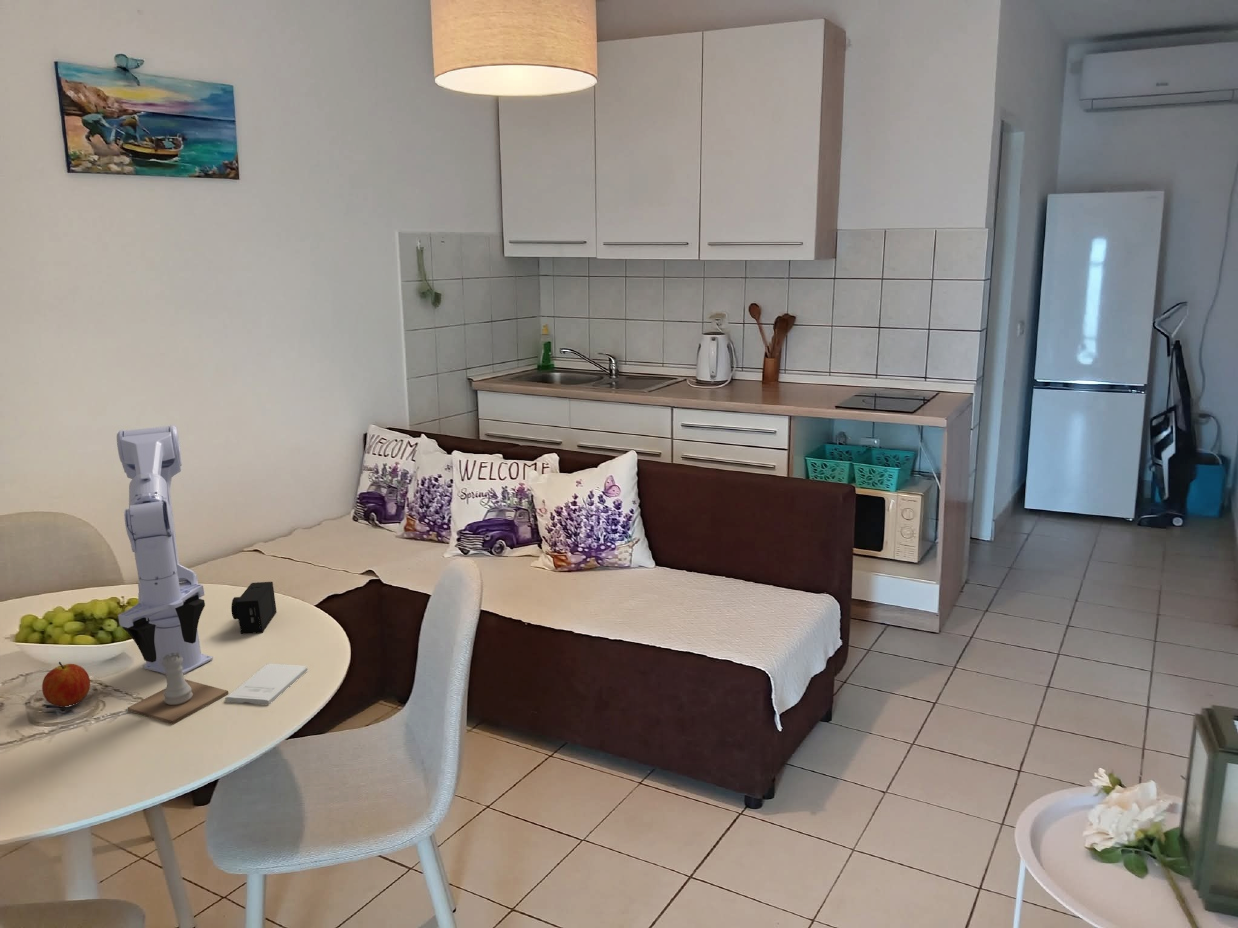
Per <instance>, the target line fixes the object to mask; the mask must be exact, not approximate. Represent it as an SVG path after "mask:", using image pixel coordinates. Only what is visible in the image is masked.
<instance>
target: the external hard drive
mask: <svg viewBox="0 0 1238 928" xmlns="http://www.w3.org/2000/svg"><path fill="white" fill-rule="evenodd" d="M307 670H308V667H307V666H306V665H297V664H284V663H283V664H282V663H266V664H265V665H264V666H262V667H261V668H260V669H258V671H256V672H255V673H254V674H253V675H251V676H250V677H249V678H247V679H246V680H245V681H244V682H243V683H241V684H240V685H238V687H236V688H235V689H233V691H232V692H231V693H228V695H226V696H225V698H224V699H225V703H239V704H244V703H247V704H251V705H252V704H253V705H261V704H264V706H269V705H268V704H270V705H271V704H272V703H273V702H275V701H276V700H277V699H278V698H279V697H280V696H281V695H282V694H284V693H283V692H284V691H285V690H286V689H287V688H288V687H289V688H291V686H290V685H292V684H293V683H294V682H295V681H296V680H297V679H298V680H299V678H300V677H301V676H302V675H303V674H304V673H305V672H306V671H307ZM306 673H307V672H306ZM306 673H305V674H306ZM305 674H304V675H305ZM304 675H303V676H304ZM303 676H302V677H303ZM302 677H301V678H302ZM301 678H300V679H301ZM298 680H297V681H298ZM297 681H296V682H297ZM296 682H295V683H296ZM295 683H294V684H295ZM294 684H293V685H294ZM293 685H292V686H293ZM289 688H288V689H289ZM288 689H287V690H288ZM287 690H286V691H287ZM286 691H285V692H286ZM281 693H282V694H281ZM280 694H281V695H280ZM279 695H280V696H279ZM278 696H279V697H278ZM277 697H278V698H277ZM276 698H277V699H276ZM275 699H276V700H275ZM271 702H272V703H271ZM265 704H267V705H265Z"/></svg>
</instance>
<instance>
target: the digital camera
mask: <svg viewBox="0 0 1238 928" xmlns="http://www.w3.org/2000/svg"><path fill="white" fill-rule="evenodd" d="M273 582H274V581H262V582H261V581H260V582H258V581H257V582H250V584H249V586H248V587H247V588H246V589H245V590H244V592H243V593H242V594H241V596H234V597H233V598H232V601H231V606H230V607H231V608H230V609H231V615H232V618H233V620H234V621H235V620H238V624H239V630H240V631H239V632H240V634H241V635H247V634H248V635H249V634H263V633H264V632H265V630H266V628H267V627H268V626H269V624H270V623H271V621H272V620H273V618H274V616H275V615H277V613H278V612H277V606H276V596H275V590H274V583H273Z"/></svg>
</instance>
